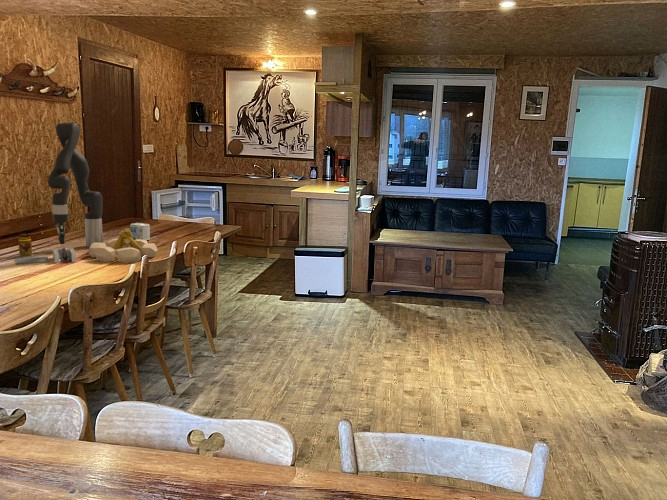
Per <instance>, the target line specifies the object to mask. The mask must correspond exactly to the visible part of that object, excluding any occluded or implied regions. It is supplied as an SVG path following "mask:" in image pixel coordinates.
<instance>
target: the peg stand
mask: <svg viewBox="0 0 667 500" xmlns="http://www.w3.org/2000/svg"><path fill="white" fill-rule="evenodd" d="M67 248H68V247H63V248H62V258H60V262H61V263H70V262H71V259H70V258H67Z"/></svg>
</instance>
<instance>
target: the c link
mask: <svg viewBox="0 0 667 500" xmlns="http://www.w3.org/2000/svg"><path fill="white" fill-rule="evenodd" d="M66 248H67V259H69V260H70V262H71V263H76V262H77V253H76V250H75V249H74V248H73V247H66ZM52 259H53V262H54V264H60V259H62V248H61V247H60V248H52Z"/></svg>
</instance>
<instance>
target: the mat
mask: <svg viewBox="0 0 667 500" xmlns="http://www.w3.org/2000/svg"><path fill="white" fill-rule="evenodd" d="M48 257H49V256H34V257H33V256H31V257H26V258H24V257H16V258H15V265H27V264H28V265H29V264H45V263H50V260H49V258H48Z"/></svg>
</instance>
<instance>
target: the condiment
mask: <svg viewBox="0 0 667 500" xmlns="http://www.w3.org/2000/svg"><path fill="white" fill-rule="evenodd" d="M32 246H33V245H32V239H31V234H29V233H21V234H19V235H18V251H19V252H18V253H19V254H15V257H17V258H30V257H33V256H34V257H35V254H33V247H32Z"/></svg>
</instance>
